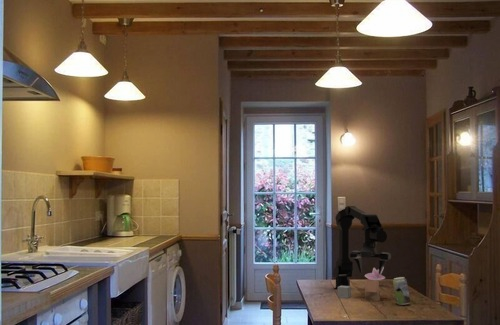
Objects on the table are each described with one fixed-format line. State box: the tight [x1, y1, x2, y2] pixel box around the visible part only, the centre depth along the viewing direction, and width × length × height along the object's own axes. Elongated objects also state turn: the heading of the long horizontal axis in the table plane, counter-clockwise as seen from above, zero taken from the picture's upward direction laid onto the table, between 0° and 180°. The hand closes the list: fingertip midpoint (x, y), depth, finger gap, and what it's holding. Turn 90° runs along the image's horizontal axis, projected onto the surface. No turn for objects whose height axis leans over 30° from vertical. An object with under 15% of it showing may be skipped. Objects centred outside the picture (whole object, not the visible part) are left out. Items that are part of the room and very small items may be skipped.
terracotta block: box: [364, 278, 380, 293], centre depth 262 cm, size 5×5×5 cm
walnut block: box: [364, 290, 381, 302], centre depth 261 cm, size 6×6×4 cm
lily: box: [364, 266, 386, 284], centre depth 304 cm, size 12×12×10 cm
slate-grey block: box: [337, 285, 352, 299], centre depth 269 cm, size 5×5×5 cm
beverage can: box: [392, 276, 411, 306], centre depth 249 cm, size 6×7×12 cm
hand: (370, 273), depth 268 cm, fingers open, 9 cm apart
